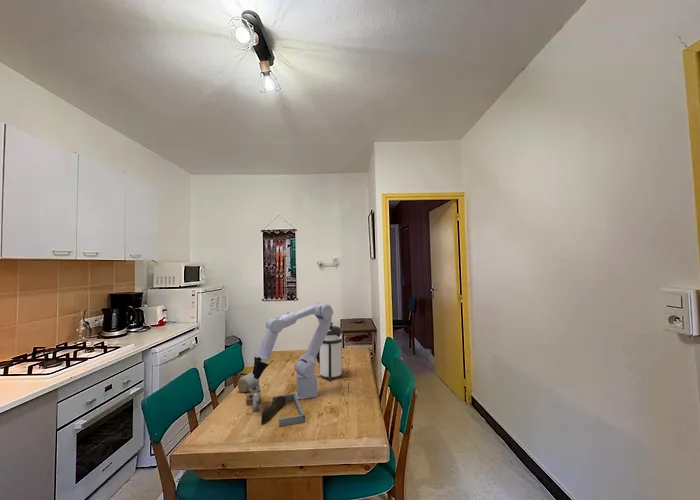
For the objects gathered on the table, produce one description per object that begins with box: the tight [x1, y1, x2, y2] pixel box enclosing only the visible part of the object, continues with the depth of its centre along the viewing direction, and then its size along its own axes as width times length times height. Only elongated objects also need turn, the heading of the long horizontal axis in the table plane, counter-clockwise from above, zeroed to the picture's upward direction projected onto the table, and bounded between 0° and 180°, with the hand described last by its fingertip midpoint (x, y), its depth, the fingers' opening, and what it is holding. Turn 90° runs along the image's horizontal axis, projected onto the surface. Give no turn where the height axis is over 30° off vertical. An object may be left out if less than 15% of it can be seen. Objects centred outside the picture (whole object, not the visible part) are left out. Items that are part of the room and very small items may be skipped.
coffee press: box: [315, 321, 345, 382], centre depth 177 cm, size 17×16×30 cm
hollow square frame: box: [245, 392, 262, 407], centre depth 144 cm, size 6×6×2 cm
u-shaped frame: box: [272, 393, 306, 427], centre depth 134 cm, size 10×23×2 cm, turn 20°
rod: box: [252, 391, 260, 413], centre depth 135 cm, size 3×3×7 cm
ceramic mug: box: [236, 371, 261, 394], centre depth 157 cm, size 11×8×8 cm
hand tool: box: [260, 395, 287, 425], centre depth 132 cm, size 19×4×5 cm, turn 166°
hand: (255, 376), depth 138 cm, fingers open, 7 cm apart
